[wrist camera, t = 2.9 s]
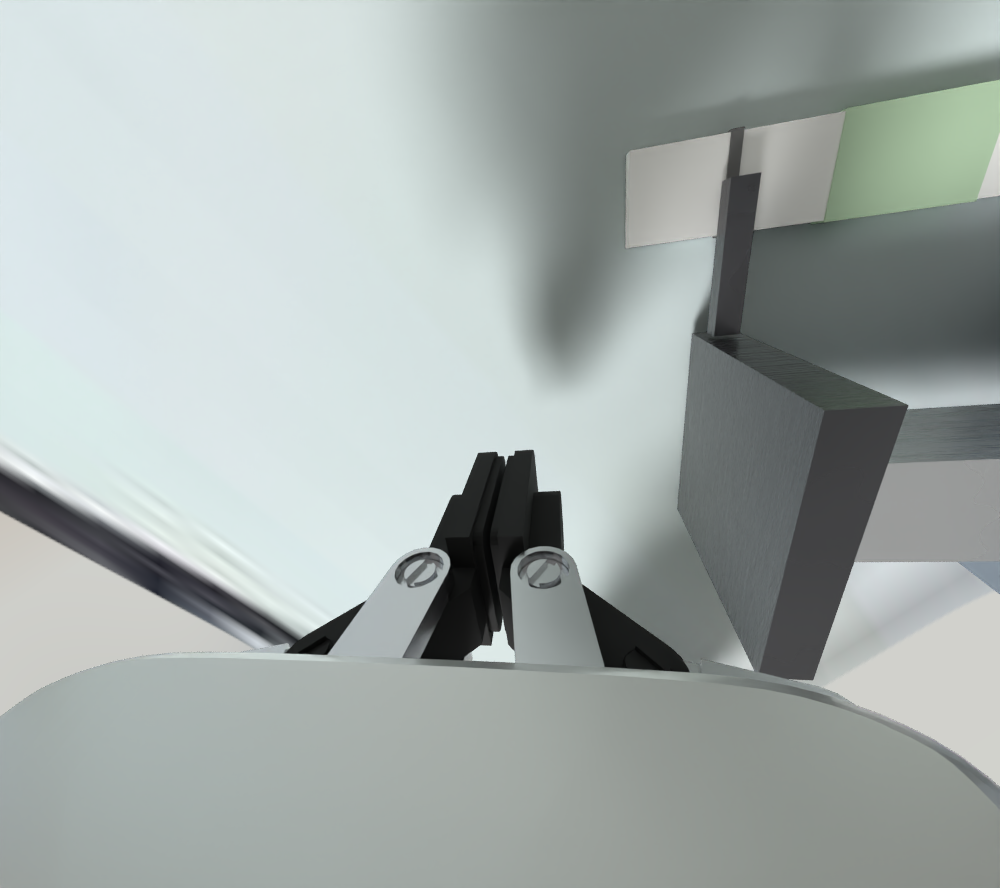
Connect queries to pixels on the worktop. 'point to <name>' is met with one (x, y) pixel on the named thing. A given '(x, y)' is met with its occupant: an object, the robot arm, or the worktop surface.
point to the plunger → (814, 472)
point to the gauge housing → (826, 173)
